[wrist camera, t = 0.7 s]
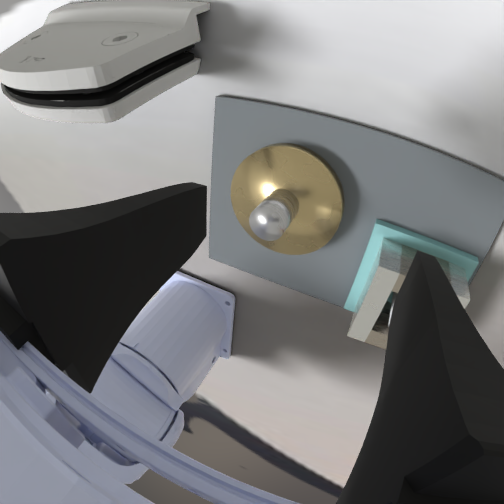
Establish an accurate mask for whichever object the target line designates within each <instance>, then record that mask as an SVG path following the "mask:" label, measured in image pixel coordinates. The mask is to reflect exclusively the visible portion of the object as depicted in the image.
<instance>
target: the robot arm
mask: <svg viewBox="0 0 504 504" xmlns="http://www.w3.org/2000/svg"><path fill="white" fill-rule="evenodd" d="M206 211H207V186H205V185H201V184H197V183H193V182H190V183H182V184H177V185H173V186H168V187H164V188H160V189H157V190H153V191H149V192H145V193H142V194H138V195H134V196H130V197H126V198H122V199H118V200H114V201H110V202H106V203H101V204H97V205H91V206H86V207H80V208H73V209H66V210H58V211H50V212H36V213H0V504H154V503H153V502H151V501H149V500H148V499H146V498H144V497H143V496H141V495H139V494H138V493H137V492H135V491H134V490H132V489H130V488H129V487H127V486H126V485H125V484H130V483H133V482H134V480H138V479H139V478H140V477H141V476H142V475H143V474H144V473H145V472H146V471H147V470H148V469H151V470H153V471H155V472H156V473H158V474H159V475H161V476H163V477H165V478H166V479H168V480H170V481H172V482H173V483H175V484H177V485H179V486H181V487H182V488H184V489H186V490H188V491H190V492H192V493H194V494H196V495H198V496H200V497H202V498H204V499H206V500H208V501H210V502H213V503H215V504H300V503H297V502H294V501H291V500H288V499H285V498H282V497H279V496H276V495H274V494H271V493H268V492H265V491H263V490H260V489H258V488H255V487H252V486H250V485H248V484H245V483H243V482H241V481H238V480H236V479H234V478H232V477H229V476H227V475H225V474H223V473H220V472H218V471H216V470H214V469H212V468H210V467H208V466H206V465H204V464H202V463H200V462H198V461H196V460H194V459H192V458H190V457H188V456H186V455H184V454H183V453H181V452H179V451H177V450H175V449H173V448H172V447H173V445H174V444H175V442H176V441H177V439H178V438H179V436H180V434H181V432H182V430H183V427H184V413H183V412H182V411H181V410H180V409H179V407H180V406H181V404H182V403H183V402H185V401H187V400H188V399H189V398H191V397H192V396H193V394H194V393H195V391H196V390H197V389H198V387H199V386H200V384H201V383H202V381H203V380H204V378H205V377H206V375H207V374H208V372H209V371H210V370H211V368H212V367H213V365H214V364H215V362H216V361H217V359H218V358H219V356H220V357H222V358H225V359H229V357H230V355H231V343H232V331H233V319H234V308H235V297H234V295H233V294H232V293H230V292H227V291H225V290H222V289H220V288H217V287H215V286H212V285H210V284H208V283H205V282H203V281H200V280H198V279H196V278H193V277H191V276H189V275H186V274H184V273H181V272H179V271H178V270H179V269H180V268H181V267H182V266H183V264H184V263H185V262H186V261H187V260H188V259H189V258H190V257H191V256H192V255H193V253H194V252H195V251H196V250H197V248H198V247H199V245H200V244H201V243H202V241H203V240H204V238H205V237H206ZM159 289H160V292H159V293H158V294H157V295H156V296H155V297H154V298H153V299H152V300H151V301H150V302H149V303H148V304H147V305H146V303H147V302H148V301H149V300H150V299H151V298H152V296H153V295H154V294H155V293H156V292H157V291H158V290H159ZM145 305H146V306H145ZM144 306H145V307H144ZM143 307H144V308H143ZM142 308H143V309H142ZM336 504H504V369H503V368H502V367H501V365H500V364H499V363H498V361H497V360H496V358H495V357H494V355H493V354H492V353H491V351H490V350H489V348H488V347H487V345H486V343H485V342H484V340H483V339H482V337H481V336H480V334H479V333H478V331H477V330H476V328H475V326H474V325H473V323H472V321H471V319H470V318H469V316H468V314H467V313H466V311H465V309H464V307H463V306H462V304H461V302H460V300H459V298H458V297H457V295H456V293H455V291H454V289H453V287H452V286H451V284H450V282H449V280H448V278H447V276H446V275H445V273H444V271H443V269H442V267H441V266H440V264H439V262H438V261H437V259H436V258H435V256H432V255H429V254H426V253H423V252H421V251H418V250H417V252H416V255H415V257H414V259H413V262H412V264H411V266H410V268H409V271H408V273H407V275H406V277H405V279H404V282H403V284H402V286H401V288H400V290H399V292H398V294H397V296H396V298H395V301H394V306H393V310H392V315H391V319H390V324H389V331H388V339H387V347H386V355H385V363H384V370H383V377H382V383H381V388H380V393H379V397H378V401H377V404H376V408H375V411H374V414H373V417H372V420H371V423H370V426H369V429H368V432H367V435H366V438H365V440H364V443H363V446H362V448H361V451H360V453H359V456H358V458H357V460H356V463H355V465H354V467H353V470H352V472H351V474H350V476H349V479H348V481H347V483H346V485H345V487H344V489H343V491H342V493H341V495H340V497H339V499H338V501H337V503H336Z"/></svg>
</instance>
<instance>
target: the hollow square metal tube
mask: <svg viewBox="0 0 504 504" xmlns="http://www.w3.org/2000/svg"><path fill="white" fill-rule="evenodd" d="M418 251H420V250H418ZM416 252H417V249H414V248H412V247H409V246H406V245H403V244H401V243H398V242H395V241H392V240H390V239H387V238H384V237H383V239H382V242H381V245H380V247H379V250H378V253H377V255H376V258H375V260H374V263H373V265H372V268H371V270H370V273H369V275H368V278H367V280H366V282H365V285H364V287H363V290H362V292H361V294H360V297H359V299H358V301H357V303H356V306H355V310H354V313H353V317H352V320H351V324H350V327H349V331H348V334H347V336H348V337H351V338H354V339H357V340H360V341H362V342H365V343H368V344H371V345H374V346H377V347H380V348H383V349H386V347H387V339H388V331H389V318H390V311H391V304H392V303H390V302H388V301H387V299H388V297H389V295H390V293H391V291H393V292H396V293H398V292H399V290H400V288H401V286H402V284H403V282H404V279H405V277H406V275H407V273H408V271H409V268H410V266H411V264H412V262H413V259H414V257H415V255H416ZM421 252H422V251H421ZM423 253H425V252H423ZM426 254H428V253H426ZM429 255H430V254H429ZM432 256H433V255H432ZM435 258H436V259H437V261H438V262H439V264H440V266H441V267H442V269H443V271H444V273H445V275H446V276H447V278H448V280H449V282H450V284H451V286H452V287H453V289H454V291H455V293H456V295H457V297H458V298H459V300H460V302H461V304H462V306H463V307H464V309H465V308H466V306H467V305H468V303H469V302H470V294H469V288H468V282H467V277H466V271H465V268H464V267H461V266H458V265H456V264H453V263H451V262H448V261H446V260H443V259H441V258H438V257H435Z"/></svg>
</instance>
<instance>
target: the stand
mask: <svg viewBox="0 0 504 504" xmlns="http://www.w3.org/2000/svg"><path fill="white" fill-rule="evenodd" d="M383 237H384V238H387V239H390V240H392V241H395V242H398V243H401V244H403V245H406V246H409V247H412V248H414V249H417V250H420V251H422V252H425V253H428V254H430V255H433V256H435V257H438V258H441V259H443V260H446V261H448V262H451V263H453V264H456V265H458V266H461V267H464V268H465V271H466V277H467V282H468V281H469V279H470V278H471V276H472V274H473V272H474V271H475V269H476V267H477V265H478V263H479V261H478V257H476V256H473V255H471V254H469V253H466V252H464V251H461V250H459V249H456V248H454V247H451V246H449V245H446V244H444V243H441V242H439V241H436V240H433V239H431V238H428V237H426V236H423V235H420V234H418V233H415V232H412V231H410V230H407V229H404V228H401V227H399V226H396V225H393V224H390V223H387V222H385V221H382V220H379V219H376V222H375V225H374V228H373V231H372V234H371V237H370V240H369V242H368V245H367V248H366V251H365V254H364V256H363V259H362V262H361V264H360V267H359V270H358V272H357V275H356V277H355V280H354V283H353V285H352V288H351V290H350V293H349V295H348V298H347V300H346V303H345V306H344V309H347V310H349V311H352V312H354V310H355V306H356V303H357V301H358V299H359V297H360V294H361V292H362V290H363V287H364V285H365V282H366V280H367V278H368V275H369V273H370V270H371V268H372V265H373V263H374V260H375V258H376V255H377V253H378V250H379V247H380V245H381V242H382V239H383ZM397 294H398V293H396V292H393V291H391V293H390V295H389V297H388V299H387V301H388V302H390V303H392V304H391V311H390V318H389V324H390V319H391V315H392V310H393V306H394V301H395V298H396V296H397Z"/></svg>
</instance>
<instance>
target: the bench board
mask: <svg viewBox="0 0 504 504" xmlns="http://www.w3.org/2000/svg"><path fill="white" fill-rule="evenodd" d="M276 143H291V144H296V145H300V146H303V147H306V148H308V149H310V150H312V151H314V152H315V153H317V154H318V155H320V156H321V157H322V158H323V159H325V160H326V161H327V162H328V163H329V165H330V166H331V167H332V168H333V170H334V171H335V172H336V174H337V176H338V178H339V180H340V182H341V185H342V188H343V192H344V200H345V205H344V213H343V217H342V219H341V222H340V224H339V227H338V229H337V231H336V233H335V235H334V236H333V237H332V239H331V240H330V241H329V242H328V243H327V244H326V245H324V246H323V247H322V248H320V249H318V250H316V251H314V252H311V253H308V254H302V255H288V254H282V253H278V252H275V251H273V250H270V249H268V248H266V247H264V246H262V245H261V244H259V243H258V242H257V241H255V240H254V239H253V238H252V237H251V236H250V235H249V234H248V233H247V232H246V231H245V230H244V229H243V227H242V226H241V224H240V223H239V221H238V219H237V217H236V215H235V213H234V210H233V207H232V203H231V183H232V179H233V176H234V174H235V171H236V169H237V168H238V166H239V165H240V164H241V163H242V161H243V160H244V159H246V158H247V157H248V156H249V155H251V154H252V153H254V152H256V151H257V150H259V149H261V148H263V147H265V146H268V145H271V144H276ZM376 219H379V220H382V221H385V222H387V223H390V224H393V225H396V226H399V227H401V228H404V229H407V230H410V231H412V232H415V233H418V234H420V235H423V236H426V237H428V238H431V239H433V240H436V241H439V242H441V243H444V244H446V245H449V246H451V247H454V248H456V249H459V250H461V251H464V252H466V253H469V254H471V255H473V256H476V257H478V261H479V263H478V265H477V267H476V269H475V271H474V272H473V274H472V276H471V278H470V279H469V281H468V286H469V285H470V283H471V281H472V280H473V278H474V276H475V274H476V273H477V271H478V269H479V267H480V266H481V264H482V262H483V260H484V258H485V256H486V254H487V253H488V251H489V249H490V247H491V245H492V243H493V241H494V239H495V237H496V235H497V233H498V231H499V229H500V227H501V224H502V222H503V220H504V180H502V179H500V178H498V177H496V176H494V175H492V174H490V173H488V172H486V171H483V170H481V169H479V168H477V167H475V166H472V165H470V164H468V163H466V162H463V161H461V160H458V159H456V158H454V157H451V156H449V155H446V154H444V153H441V152H439V151H436V150H434V149H431V148H428V147H426V146H423V145H420V144H417V143H415V142H412V141H409V140H406V139H403V138H400V137H397V136H394V135H391V134H388V133H385V132H382V131H379V130H375V129H372V128H369V127H365V126H362V125H359V124H355V123H351V122H348V121H344V120H340V119H337V118H333V117H329V116H325V115H321V114H317V113H312V112H308V111H303V110H299V109H294V108H290V107H285V106H280V105H275V104H269V103H264V102H258V101H252V100H246V99H240V98H233V97H226V96H216V101H215V116H214V133H213V152H212V173H211V198H210V232H209V258H211V259H214V260H216V261H219V262H221V263H224V264H227V265H229V266H232V267H235V268H237V269H240V270H242V271H245V272H248V273H250V274H253V275H256V276H258V277H261V278H264V279H266V280H269V281H272V282H274V283H277V284H280V285H283V286H285V287H288V288H291V289H293V290H296V291H299V292H302V293H304V294H307V295H310V296H312V297H315V298H318V299H321V300H323V301H326V302H329V303H332V304H335V305H337V306H340V307H343V308H344V306H345V303H346V300H347V298H348V295H349V293H350V290H351V288H352V285H353V283H354V280H355V277H356V275H357V272H358V270H359V267H360V264H361V262H362V259H363V256H364V254H365V251H366V248H367V245H368V242H369V240H370V237H371V234H372V231H373V228H374V225H375V222H376Z"/></svg>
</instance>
